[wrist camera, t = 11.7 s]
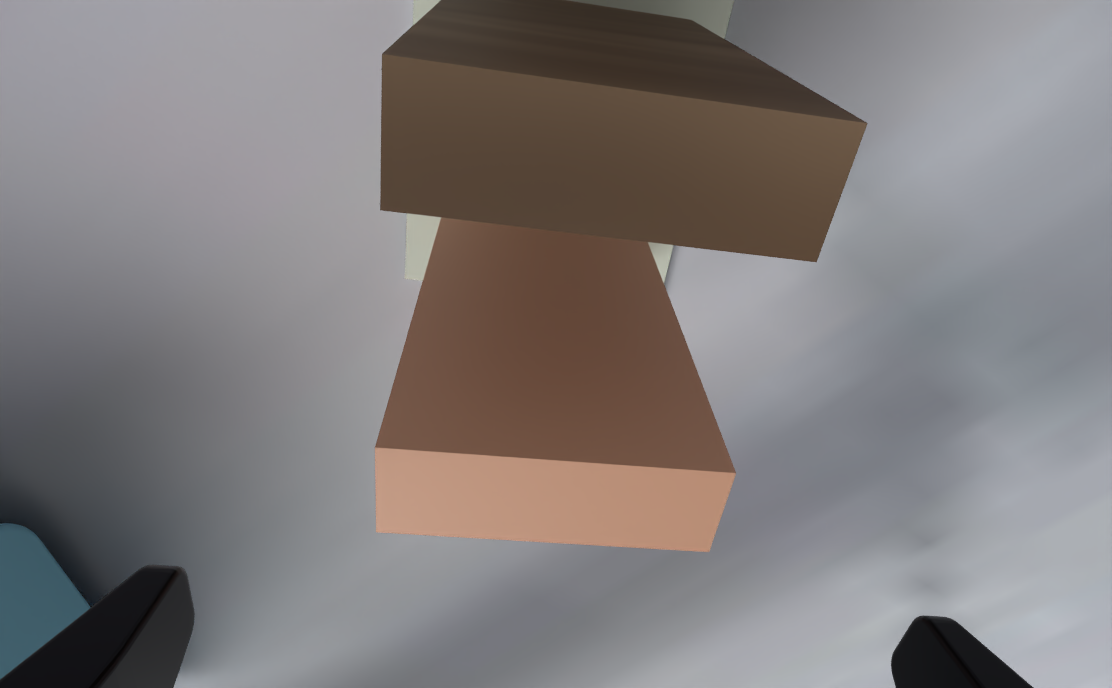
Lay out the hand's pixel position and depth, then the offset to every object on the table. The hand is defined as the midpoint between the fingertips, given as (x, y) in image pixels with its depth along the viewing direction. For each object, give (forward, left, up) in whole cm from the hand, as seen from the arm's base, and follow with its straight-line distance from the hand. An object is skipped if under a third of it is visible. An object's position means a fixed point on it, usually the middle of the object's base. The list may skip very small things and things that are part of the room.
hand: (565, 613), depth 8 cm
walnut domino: (-4, +3, -11) cm, 12 cm away
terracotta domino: (0, 0, -11) cm, 11 cm away
